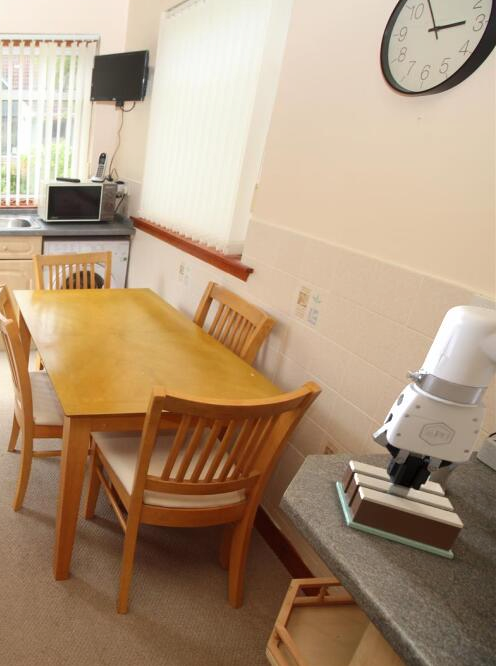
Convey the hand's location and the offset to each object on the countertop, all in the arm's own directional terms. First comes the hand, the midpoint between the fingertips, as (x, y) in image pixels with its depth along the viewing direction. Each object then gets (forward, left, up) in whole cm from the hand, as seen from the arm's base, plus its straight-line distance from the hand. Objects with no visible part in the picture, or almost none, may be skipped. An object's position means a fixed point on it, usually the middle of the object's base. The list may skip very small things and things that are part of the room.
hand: (403, 481), depth 79 cm
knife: (0, 0, -8) cm, 8 cm away
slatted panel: (-1, -2, -9) cm, 9 cm away
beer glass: (-10, -17, -9) cm, 22 cm away
